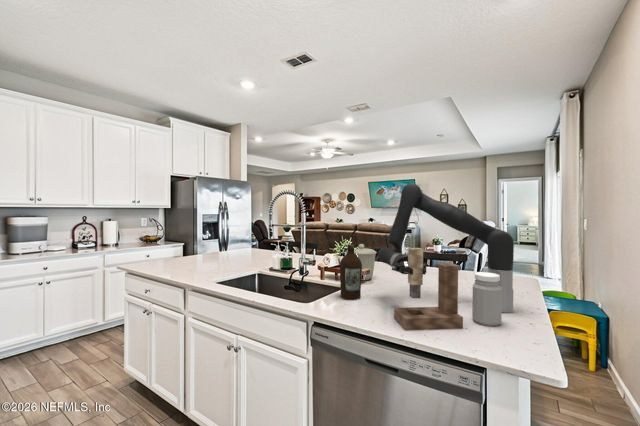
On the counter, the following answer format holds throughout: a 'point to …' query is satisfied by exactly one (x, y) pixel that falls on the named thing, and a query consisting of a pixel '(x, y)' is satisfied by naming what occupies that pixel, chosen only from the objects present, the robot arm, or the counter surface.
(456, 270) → the brown wooden stand
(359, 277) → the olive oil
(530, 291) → the counter surface
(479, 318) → the jar
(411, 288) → the beige wooden post
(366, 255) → the canister
